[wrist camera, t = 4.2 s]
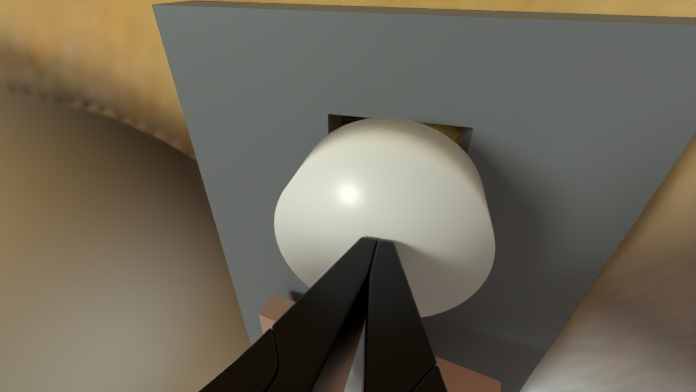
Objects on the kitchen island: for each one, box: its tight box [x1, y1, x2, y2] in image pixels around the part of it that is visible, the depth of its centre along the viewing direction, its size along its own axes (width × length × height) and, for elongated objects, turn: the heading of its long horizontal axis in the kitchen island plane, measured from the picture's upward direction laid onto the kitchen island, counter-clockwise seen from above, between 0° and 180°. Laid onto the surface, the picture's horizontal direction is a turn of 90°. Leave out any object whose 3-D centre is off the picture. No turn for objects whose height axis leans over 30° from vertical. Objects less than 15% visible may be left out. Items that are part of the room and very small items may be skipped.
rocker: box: [259, 294, 501, 392], centre depth 15 cm, size 10×5×3 cm, turn 89°
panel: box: [152, 1, 696, 392], centre depth 16 cm, size 15×27×2 cm, turn 179°
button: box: [274, 117, 495, 317], centre depth 10 cm, size 6×6×4 cm
